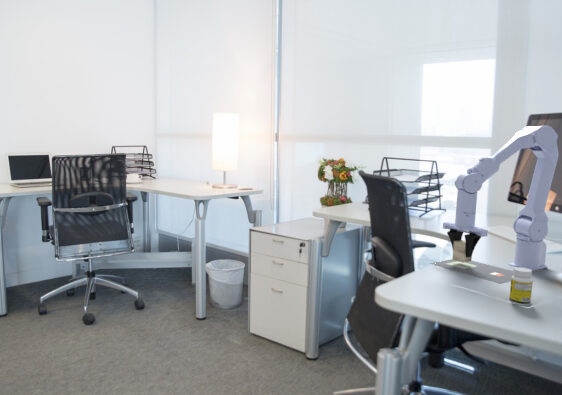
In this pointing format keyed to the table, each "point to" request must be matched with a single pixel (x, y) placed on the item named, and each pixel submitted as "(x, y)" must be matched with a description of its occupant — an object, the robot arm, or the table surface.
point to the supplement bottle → (521, 286)
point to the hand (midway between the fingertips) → (462, 255)
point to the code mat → (478, 270)
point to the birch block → (460, 251)
